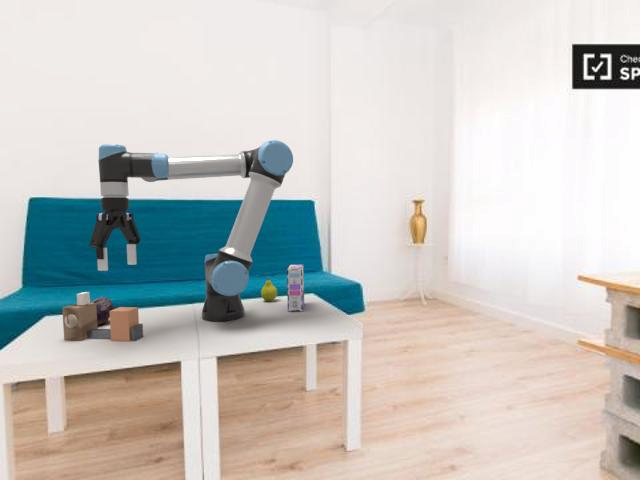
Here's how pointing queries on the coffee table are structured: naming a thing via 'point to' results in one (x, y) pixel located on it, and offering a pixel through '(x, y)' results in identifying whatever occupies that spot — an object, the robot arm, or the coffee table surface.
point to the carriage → (123, 322)
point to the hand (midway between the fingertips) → (118, 267)
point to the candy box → (295, 287)
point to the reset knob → (83, 298)
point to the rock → (103, 309)
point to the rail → (106, 333)
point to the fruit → (268, 291)
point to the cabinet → (79, 320)
